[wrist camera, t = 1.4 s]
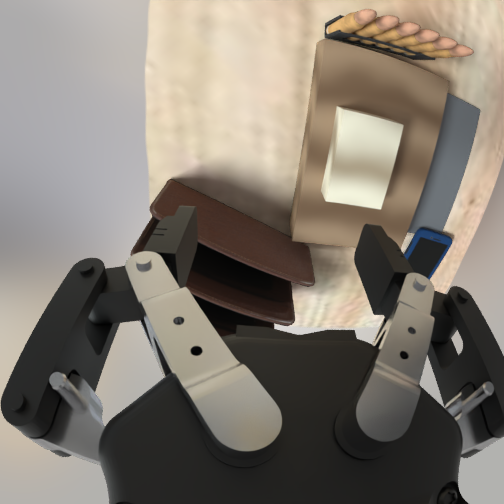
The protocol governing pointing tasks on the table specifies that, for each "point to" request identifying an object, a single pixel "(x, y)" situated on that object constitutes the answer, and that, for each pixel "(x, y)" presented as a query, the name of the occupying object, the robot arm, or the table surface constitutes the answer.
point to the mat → (446, 165)
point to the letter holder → (235, 262)
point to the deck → (377, 103)
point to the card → (360, 158)
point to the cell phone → (427, 251)
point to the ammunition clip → (393, 36)
